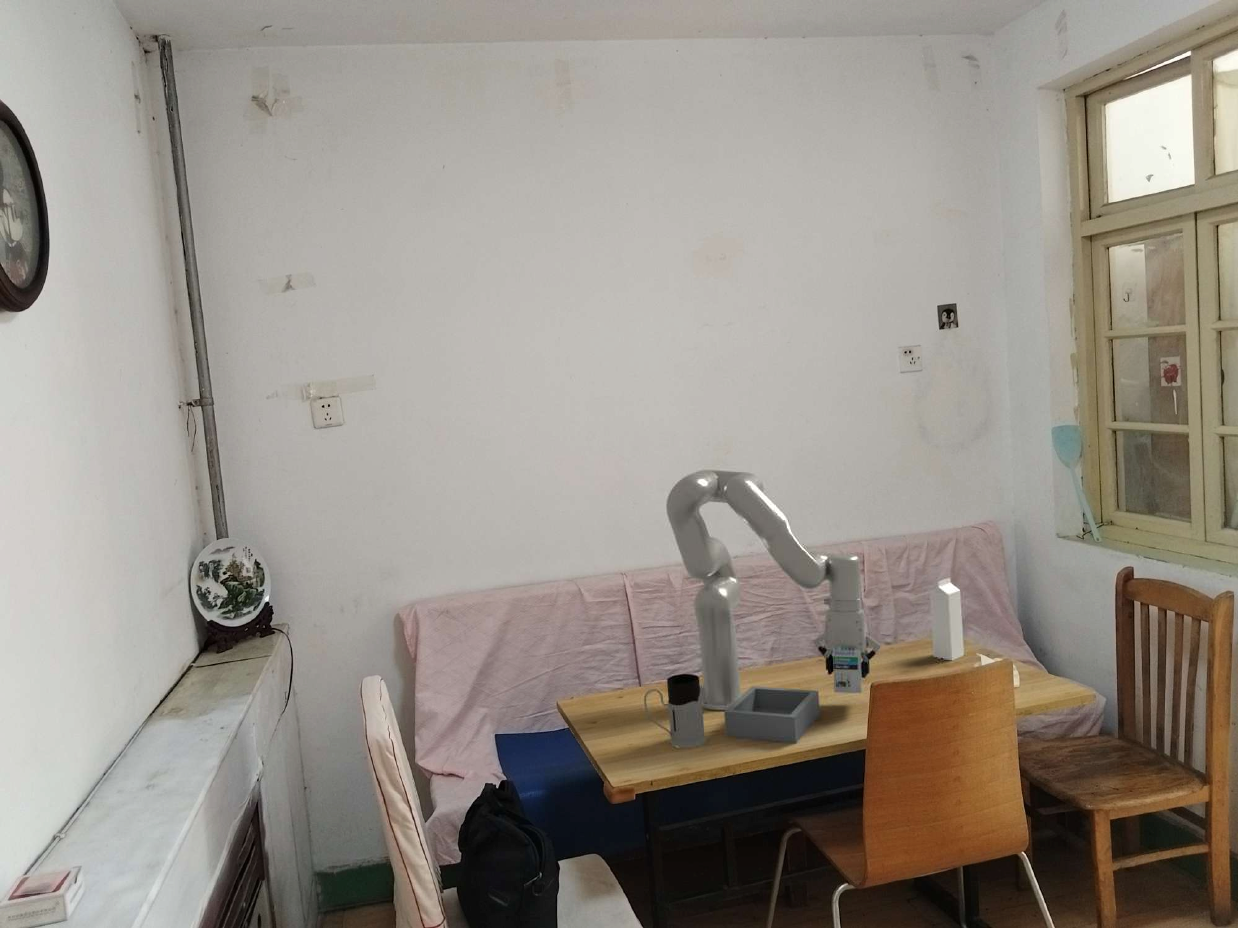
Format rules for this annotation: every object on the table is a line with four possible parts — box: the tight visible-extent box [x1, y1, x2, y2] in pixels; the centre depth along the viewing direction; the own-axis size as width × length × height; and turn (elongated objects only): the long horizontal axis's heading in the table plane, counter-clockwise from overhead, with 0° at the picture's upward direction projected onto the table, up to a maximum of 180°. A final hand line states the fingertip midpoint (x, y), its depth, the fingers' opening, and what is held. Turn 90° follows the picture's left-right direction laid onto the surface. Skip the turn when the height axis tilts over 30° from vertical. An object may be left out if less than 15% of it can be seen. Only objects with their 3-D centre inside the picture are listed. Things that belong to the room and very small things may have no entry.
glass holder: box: [643, 673, 708, 749], centre depth 230 cm, size 9×14×15 cm, turn 107°
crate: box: [723, 685, 821, 744], centre depth 236 cm, size 17×19×6 cm
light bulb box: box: [832, 646, 863, 694], centre depth 243 cm, size 11×7×11 cm, turn 167°
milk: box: [929, 577, 965, 661], centre depth 277 cm, size 6×6×22 cm
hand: (847, 674), depth 244 cm, fingers closed on light bulb box, 7 cm apart
